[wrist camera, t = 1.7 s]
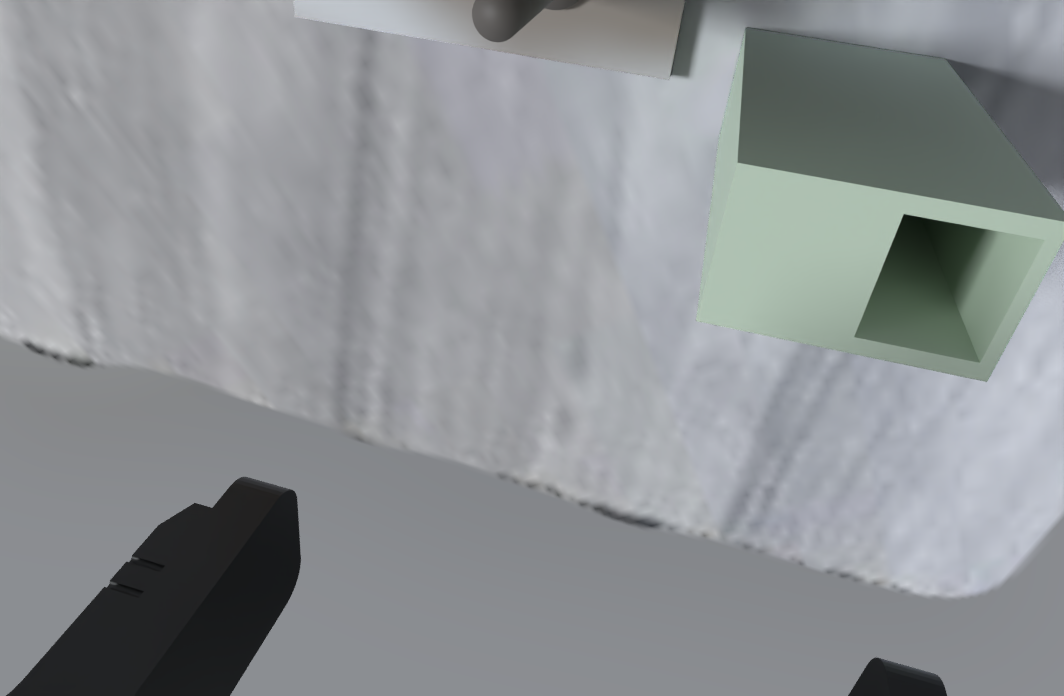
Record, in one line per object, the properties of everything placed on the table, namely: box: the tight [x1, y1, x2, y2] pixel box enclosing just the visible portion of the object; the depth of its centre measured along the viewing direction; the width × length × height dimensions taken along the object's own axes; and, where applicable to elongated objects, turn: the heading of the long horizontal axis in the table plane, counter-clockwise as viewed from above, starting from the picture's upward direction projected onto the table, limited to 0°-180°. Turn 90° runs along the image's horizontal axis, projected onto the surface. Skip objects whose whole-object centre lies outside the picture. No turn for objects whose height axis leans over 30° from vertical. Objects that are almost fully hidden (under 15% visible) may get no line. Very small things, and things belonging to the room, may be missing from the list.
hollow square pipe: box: [696, 28, 1064, 382], centre depth 21 cm, size 4×6×12 cm
